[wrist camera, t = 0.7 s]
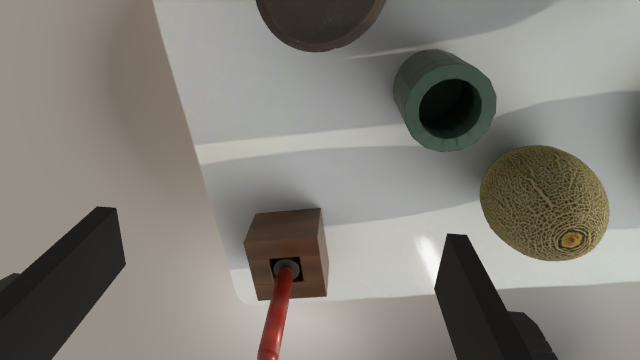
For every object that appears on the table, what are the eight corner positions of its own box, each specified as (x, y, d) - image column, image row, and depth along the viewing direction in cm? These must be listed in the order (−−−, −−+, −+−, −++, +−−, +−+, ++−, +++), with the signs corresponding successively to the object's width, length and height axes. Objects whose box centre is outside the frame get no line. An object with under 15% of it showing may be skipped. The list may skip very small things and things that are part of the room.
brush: (279, 230, 55) (245, 354, 36) (302, 228, 55) (279, 352, 36) (283, 249, 57) (252, 378, 38) (306, 247, 56) (285, 377, 37)
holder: (255, 213, 55) (243, 242, 48) (320, 208, 54) (317, 236, 47) (267, 267, 58) (258, 301, 52) (329, 263, 57) (327, 296, 51)
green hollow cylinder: (391, 54, 45) (402, 70, 36) (467, 44, 44) (498, 58, 35) (395, 124, 48) (406, 155, 39) (465, 117, 47) (494, 146, 38)
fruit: (487, 120, 47) (544, 171, 34) (578, 140, 48) (670, 199, 34) (453, 203, 52) (492, 277, 39) (536, 221, 53) (603, 300, 39)
